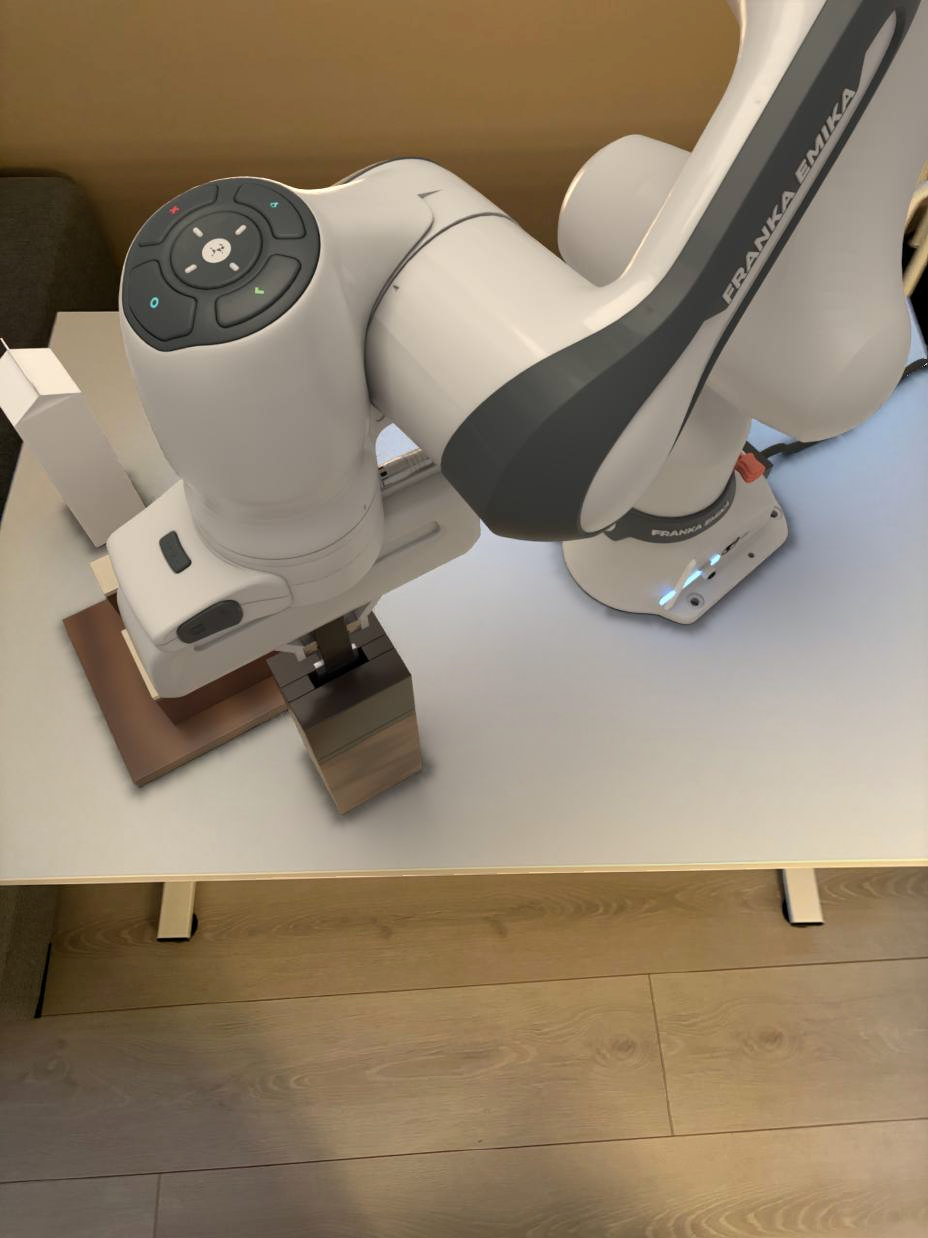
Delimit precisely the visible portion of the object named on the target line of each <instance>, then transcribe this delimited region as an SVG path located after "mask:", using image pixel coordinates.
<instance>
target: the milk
mask: <svg viewBox="0 0 928 1238" xmlns="http://www.w3.org/2000/svg"><path fill="white" fill-rule="evenodd" d="M0 340H1V343H2V344H3V346H4V348H5V349H6V351H5V352H4V353H3V355H2V356H1V357H0V408H1V410H2V412H3V413H4V415H5V416H6V418H7V419H8V421H9V422H10V423H11V425H12V426H13V428H14V430H15V431H16V433H17V434H18V436H19V437H20V439H21V440H22V441H23V444H25V445H26V447H27V449H28V450H29V452H30V453H31V454H32V456H33V457H34V459H35V460H36V462H37V463H38V465H39V466H40V468H41V469H42V470H43V472H44V473H45V475H46V477H47V478H48V479H49V481H50V483H52V485H53V486H54V488H55V490H56V491H57V492H58V494H59V495H60V497H61V498H62V500H63V501H64V503H65V504H66V505H67V507H68V509H69V510H70V511H71V513H72V514H73V516H74V517H75V518H76V520H77V522H78V523H79V524H80V526H81V527H82V529H83V530H84V532H85V533H86V535H87V536H88V537H89V539H90V541H91V542H92V544H93V545H94V546H95V548H100V547H102V546H103V545H106V542H107V540H108V538H109V537H110V535H111V534H112V533H113V532H114V531H116V530H117V529H118V528H120V527H121V526H122V525H124V524H125V523H126V522H128V521H129V520H131V519H132V518H133V517H135V516H136V515H137V514H139V513H140V512H141V511H143V510H144V509H145V508H146V506H145V505H144V503H143V500H142V499H141V497H140V496H139V494H138V492H137V490H136V488H135V487H134V485H133V483H132V481H131V479H130V477H129V476H128V474H127V472H126V470H125V469H124V468H125V467H123V465H122V463H121V461H120V459H119V457H118V456H117V454H116V452H115V451H114V448H113V447H112V445H111V443H110V441H109V439H108V437H107V436H106V433H105V432H104V430H103V428H102V427H101V425H100V423H99V421H98V419H97V418H96V416H95V414H94V412H93V410H92V409H91V407H90V405H89V404H88V401H87V400H86V398H85V396H84V394H83V392H82V391H81V390H80V388H79V387H78V385H77V384H76V382H75V381H74V379H73V378H72V377H71V375H70V374H69V373H68V371H67V369H66V368H65V367H64V365H63V363H61V362H60V360H59V359H58V357H57V356H56V355H55V353H54V352H53V351H52V349H51V348H49V347H41V348H40V347H38V348H37V347H36V348H9V346H8V345H7V344H6V342H5V341H4V339H3V337H1V338H0Z"/></svg>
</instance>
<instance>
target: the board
mask: <svg viewBox="0 0 928 1238" xmlns="http://www.w3.org/2000/svg"><path fill="white" fill-rule="evenodd" d="M61 621H62V623H63V626H64V627H65V630H66V632H67V634H68V637H69V639H70V641H71V644H72V646H73V648H74V650H75V653H76V655H77V657H78V659H79V662H80V664H81V667H82V668H83V671H84V674H85V676H86V678H87V681H88V682H89V684H90V687H91V689H92V692H93V694H94V696H95V698H96V700H97V703H98V705H99V707H100V710H101V712H102V714H103V717H104V719H105V720H106V723H107V725H108V727H109V730H110V733H111V734H112V738H113V739H114V741H115V744H116V746H117V749H118V750H119V753H120V755H121V757H122V758H121V759H122V760H123V762H124V765H125V767H126V768H127V771H128V774H129V776H130V778H131V780H132V782H133V784H135V785H136V786H137V787H138V788H141V787H142V786H145V785H146V784H149V783H150V782H152V781H154V780H156V779H158V778H160V777H162V776H163V775H166V774H168V773H169V772H172V771H173V770H176V769H177V768H179V767H181V766H183V765H184V764H186V763H189V762H190V761H192V760H194V759H196V758H199V757H200V756H202V755H204V754H206V753H207V752H209V751H211V750H213V749H215V748H217V747H220V746H222V745H224V743H227V742H228V741H230V740H232V739H235V738H236V737H238V736H240V735H242V734H243V733H245V732H248V731H249V730H251V729H253V728H256V727H258V726H259V725H261V724H263V723H266V722H267V721H269V720H271V719H272V718H274V717H276V716H279V715H280V714H282V713H284V712H286V711H287V710H288V708H287V706H286V704H285V702H284V699H283V697H282V695H281V693H280V691H279V689H278V687H277V684H276V682H275V680H274V678H273V676H271V677H269V678H267V679H265V680H263V681H261V682H259V683H257V684H255V685H253V686H251V687H249V688H247V689H245V690H243V691H241V692H239V693H237V694H236V695H234V696H232V697H230V698H228V699H226V700H224V701H222V702H220V703H218V704H216V705H214V706H212V707H210V708H208V709H206V710H204V711H202V712H200V713H198V714H196V715H195V716H193V717H191V718H189V719H187V720H185V721H183V722H181V723H179V724H177V725H174V724H173V723H172V722H171V720H170V719H169V718H168V717H167V716H166V714H165V713H164V712H163V711H162V709H161V708H160V707H159V706H158V704H157V703H156V702H155V701H154V699H153V698H152V696H151V694H150V692H149V690H148V688H147V686H146V684H145V681H144V679H143V677H142V675H141V673H140V671H139V669H138V667H137V664H136V662H135V660H134V658H133V656H132V654H131V652H130V649H129V647H128V645H127V643H126V641H125V639H124V637H123V635H122V632H121V631H122V630H125V629H126V628H125V625H124V623H123V620H122V618H121V617H120V616H119V614H118V613H117V612H116V610H115V609H114V608H113V606H112V605H111V603H110V602H109V601H108V599H107V598H105V599H103V600H101V601H99V602H97V603H95V604H93V605H90V606H89V607H86V608H83V609H81V610H80V611H78V612H76V613H74V614H71V615H70V616H69V615H68V616H67V617H65V618H63V619H62V620H61ZM288 711H289V710H288Z"/></svg>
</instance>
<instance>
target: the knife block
mask: <svg viewBox="0 0 928 1238" xmlns="http://www.w3.org/2000/svg"><path fill="white" fill-rule="evenodd" d="M375 614H376V613H374V611H373V610H372V611H371V612H370V614H369V615H367V618H368V623H369V626H368V627H366V628H364V629H362V630H360V631H358V632H355V633H353V634H351V635H349V637H350V641H351V644H353V643H354V644H355V645H356V647H357V651H358V655H359V659H360V663H361V666H359V667H357V668H355V669H353V670H351V671H349V672H347V673H346V674H344V675H342V676H340V677H338V678H336V679H334V680H332V681H330V682H328V683H326V684H324V685H323V686H321V684H320V681H319V679H318V676H317V673H316V670H315V668H314V665H313V664H315V663H317V662H319V661H320V659H319V658H318V656H317V654H316V653H315V654H313V655H311V656H309V657H307V658H305V659H303V660H301V661H300V662H299V661H298V660H297V658H296V656H295V655H294V653H290V652H280V653H278V654H276V655H274V656H272V657H270V658H268V659H266V663H267V665H268V667H269V669H270V671H271V674H272V676H273V678H274V680H275V682H276V684H277V687H278V689H279V691H280V693H281V695H282V697H283V699H284V702H285V704H286V706H287V708H288V712H289V714H290V717H291V720H292V721H293V723H294V725H295V727H296V729H297V732H298V734H299V736H300V738H301V740H302V742H303V744H304V747H305V749H306V751H307V753H308V755H309V758H310V760H311V761H312V763H313V765H314V767H315V769H316V771H317V773H318V775H319V776H320V778H321V780H322V782H323V784H324V785H325V787H326V790H327V791H328V793H329V795H330V797H331V799H332V800H333V802H334V804H335V806H336V809H337V810H338V812H339V814H340V816H341V815H344V814H347V813H348V812H350V811H352V810H353V809H355V808H356V807H358V806H360V805H362V804H364V803H366V802H368V801H369V800H371V799H373V798H374V797H376V796H378V795H380V794H382V793H383V792H385V791H387V790H389V789H391V788H393V787H394V786H396V785H398V784H400V783H401V782H403V781H405V780H406V779H408V778H410V777H411V776H414V775H415V774H417V773H419V772H422V771H423V761H422V752H421V744H420V737H419V727H418V719H417V711H416V701H415V693H414V686H413V685H414V684H413V677H412V673H411V671H410V670H409V668H408V666H407V665H406V663H405V661H404V660H403V658H402V656H401V654H399V652H398V650H397V649H396V648H395V647H396V646H394V643H393V642H392V640H391V639H390V637H389V636H388V634H387V632H386V630H385V629H384V627H383V626H382V624H381V623H380V621H379V619H378V617H377V616H376V615H375Z"/></svg>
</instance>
